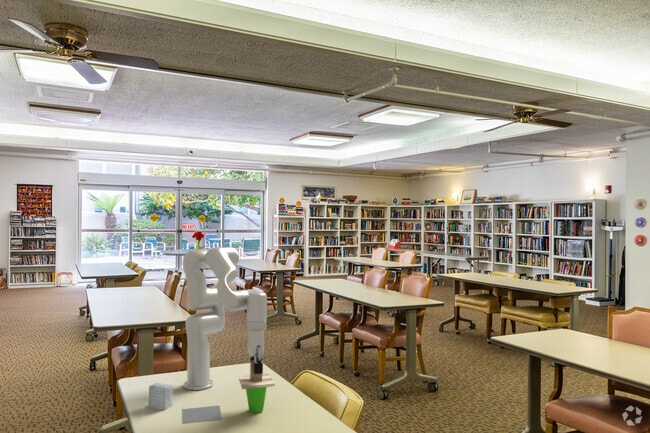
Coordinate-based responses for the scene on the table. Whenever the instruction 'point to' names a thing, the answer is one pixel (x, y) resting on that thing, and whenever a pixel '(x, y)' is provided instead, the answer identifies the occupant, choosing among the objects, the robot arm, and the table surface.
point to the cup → (256, 399)
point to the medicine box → (160, 396)
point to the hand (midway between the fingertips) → (256, 369)
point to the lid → (255, 379)
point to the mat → (201, 414)
